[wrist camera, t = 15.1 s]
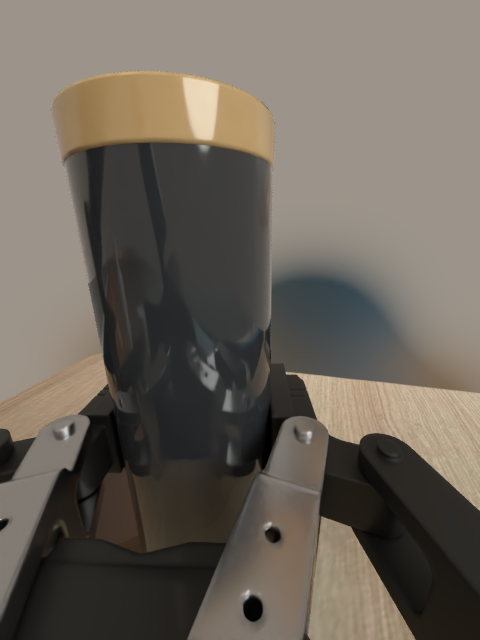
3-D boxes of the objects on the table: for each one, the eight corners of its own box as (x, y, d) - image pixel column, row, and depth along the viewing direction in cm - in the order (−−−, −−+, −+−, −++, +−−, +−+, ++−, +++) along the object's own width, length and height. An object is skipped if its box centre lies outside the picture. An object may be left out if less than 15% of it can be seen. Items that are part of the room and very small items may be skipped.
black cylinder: (141, 667, 12) (7, 121, 6) (209, 560, 16) (174, 165, 10) (230, 779, 9) (165, 17, 3) (285, 620, 13) (306, 135, 7)
